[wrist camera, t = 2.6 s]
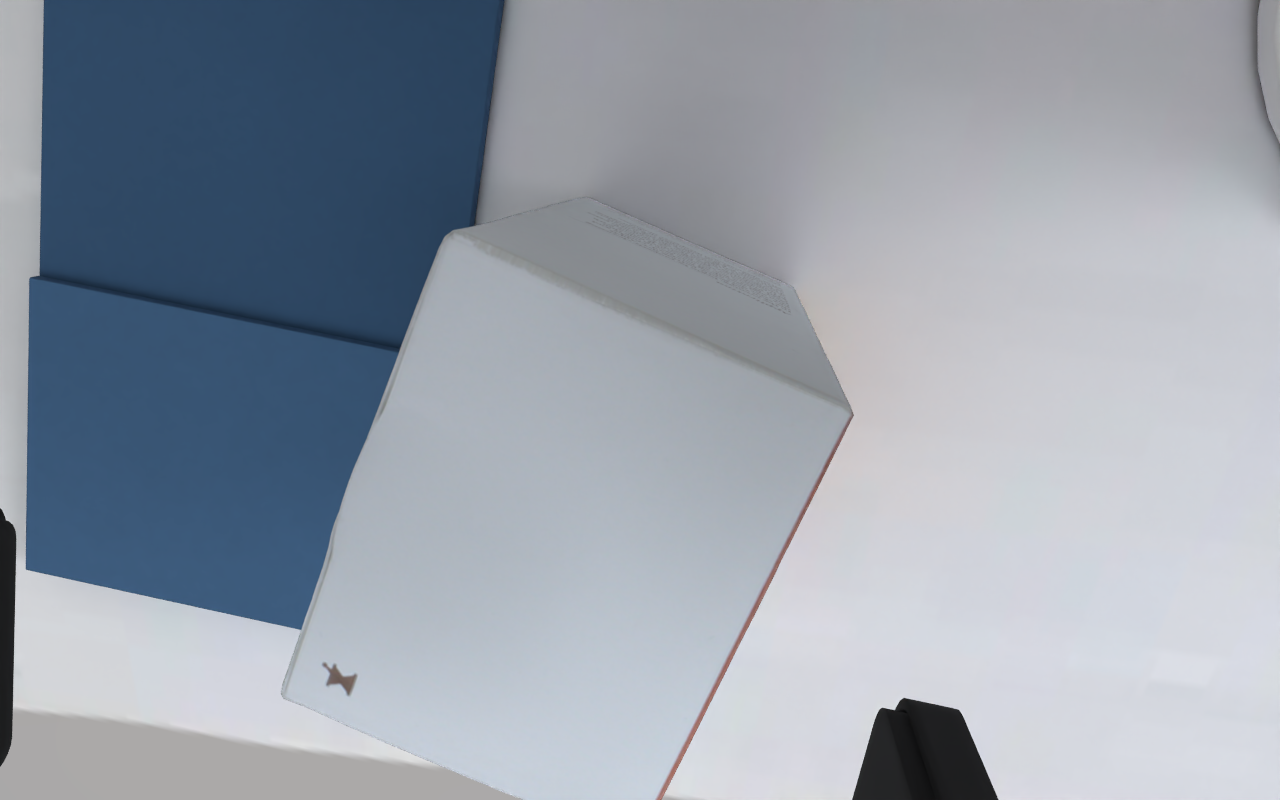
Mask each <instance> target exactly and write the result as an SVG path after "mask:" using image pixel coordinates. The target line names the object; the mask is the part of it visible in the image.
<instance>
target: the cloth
mask: <svg viewBox="0 0 1280 800" xmlns="http://www.w3.org/2000/svg"><path fill="white" fill-rule="evenodd" d="M503 6H504V0H44V32H43V96H42V161H41V225H40V276H36V277H31V278H30V279H29V356H28V434H27V513H26V570H30V571H35V572H39V573H44V574H48V575H53V576H58V577H62V578H67V579H71V580H76V581H80V582H85V583H90V584H94V585H99V586H103V587H108V588H112V589H117V590H122V591H126V592H131V593H135V594H140V595H144V596H149V597H154V598H158V599H163V600H167V601H172V602H176V603H181V604H186V605H190V606H195V607H199V608H204V609H208V610H213V611H218V612H222V613H227V614H231V615H236V616H240V617H245V618H250V619H254V620H259V621H263V622H268V623H272V624H277V625H282V626H286V627H291V628H295V629H300V630H301V629H302V626H303V623H304V620H305V617H306V614H307V612H308V609H309V606H310V603H311V601H312V598H313V594H314V591H315V588H316V585H317V582H318V579H319V576H320V573H321V570H322V568H323V564H324V561H325V557H326V554H327V550H328V547H329V542H330V537H331V533H332V529H333V526H334V523H335V520H336V518H337V515H338V513H339V510H340V507H341V503H342V500H343V497H344V494H345V491H346V488H347V485H348V482H349V480H350V477H351V474H352V472H353V469H354V467H355V464H356V462H357V460H358V457H359V455H360V453H361V450H362V448H363V446H364V443H365V441H366V439H367V436H368V434H369V431H370V428H371V426H372V423H373V421H374V418H375V415H376V413H377V410H378V408H379V405H380V402H381V399H382V397H383V394H384V391H385V389H386V386H387V383H388V381H389V378H390V376H391V373H392V370H393V368H394V365H395V362H396V359H397V357H398V354H399V351H400V348H401V345H402V342H403V340H404V337H405V335H406V332H407V329H408V327H409V324H410V321H411V319H412V316H413V314H414V311H415V308H416V306H417V303H418V300H419V298H420V295H421V292H422V290H423V287H424V285H425V282H426V279H427V277H428V274H429V272H430V269H431V267H432V264H433V262H434V259H435V257H436V254H437V251H438V249H439V246H440V245H441V243H442V241H443V239H444V237H445V236H446V235H447V234H449V233H450V232H451V231H453V230H457V229H462V228H468V227H472V226H474V223H475V215H476V208H477V200H478V193H479V185H480V178H481V170H482V163H483V155H484V148H485V140H486V133H487V125H488V118H489V111H490V103H491V96H492V88H493V81H494V73H495V66H496V58H497V51H498V43H499V36H500V28H501V21H502V13H503Z"/></svg>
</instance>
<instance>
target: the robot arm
mask: <svg viewBox="0 0 1280 800" xmlns="http://www.w3.org/2000/svg"><path fill="white" fill-rule="evenodd" d="M1258 72H1259V77H1260V81H1261V86H1262V91H1263V96H1264V100H1265V105H1266V110H1267V115H1268V119H1269V121H1270V123H1271V125H1272V127H1273V130H1274V132H1275V134H1276V136H1277V139H1278V141H1279V143H1280V0H1260V5H1259V10H1258ZM15 576H16V531H15V529H14V527H13V525H12V524H11V523H10V522H9V521H6V519H5V516H4V514H3V511H2V509H0V766H1V765H2V763H3V762H4V760H5V758H6V756H7V754H8V752H9V749H10V746H11V740H12V716H13V714H12V713H13V670H14V623H15ZM852 800H998V798H997V795H996V793H995V791H994V788H993V786H992V784H991V781H990V779H989V777H988V774H987V772H986V770H985V767H984V765H983V762H982V760H981V758H980V755H979V753H978V751H977V748H976V746H975V744H974V741H973V739H972V737H971V734H970V732H969V730H968V727H967V725H966V722H965V720H964V718H963V715H962V714H961V712H960V711H959V710H957V709H953V708H949V707H944V706H939V705H935V704H930V703H925V702H921V701H916V700H911V699H906V698H903V699H902V700H901V701H900V702H899V704H898V705H897V707H896V710H890V709H886V708H881V709H880V710H879V712H878V714H877V716H876V719H875V722H874V725H873V728H872V732H871V735H870V739H869V743H868V746H867V750H866V753H865V757H864V760H863V764H862V767H861V771H860V774H859V778H858V781H857V785H856V788H855V792H854V796H853V799H852Z"/></svg>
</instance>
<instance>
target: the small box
mask: <svg viewBox="0 0 1280 800" xmlns="http://www.w3.org/2000/svg"><path fill="white" fill-rule="evenodd" d="M853 416H854V415H853V412H852V409H851V407H850V404H849V402H848V400H847V398H846V396H845V394H844V392H843V390H842V388H841V385H840V383H839V381H838V379H837V377H836V375H835V372H834V370H833V368H832V366H831V364H830V362H829V360H828V358H827V356H826V354H825V352H824V350H823V348H822V345H821V343H820V341H819V339H818V337H817V335H816V333H815V331H814V328H813V326H812V324H811V322H810V320H809V318H808V316H807V313H806V311H805V309H804V307H803V305H802V304H801V301H800V299H799V297H798V295H797V293H796V291H795V289H794V288H793V287H792V286H790V285H788V284H786V283H783V282H781V281H779V280H776V279H774V278H772V277H770V276H767V275H765V274H763V273H760V272H758V271H756V270H753V269H751V268H749V267H747V266H744V265H742V264H740V263H737V262H735V261H733V260H730V259H728V258H726V257H723V256H721V255H719V254H717V253H714V252H712V251H710V250H707V249H705V248H703V247H700V246H698V245H696V244H694V243H691V242H689V241H687V240H684V239H682V238H680V237H678V236H675V235H673V234H671V233H669V232H666V231H664V230H662V229H659V228H657V227H655V226H653V225H650V224H648V223H646V222H643V221H641V220H639V219H636V218H634V217H632V216H630V215H627V214H625V213H623V212H621V211H618V210H616V209H614V208H611V207H609V206H607V205H605V204H602V203H600V202H598V201H596V200H593V199H591V198H587V197H582V198H578V199H573V200H569V201H566V202H561V203H558V204H554V205H550V206H547V207H544V208H541V209H537V210H533V211H528V212H524V213H520V214H516V215H513V216H509V217H506V218H502V219H499V220H495V221H492V222H488V223H484V224H479V225H476V226H472V227H468V228H462V229H457V230H453V231H451V232H450V233H449V234H447V235H446V236H445V237H444V239H443V241H442V243H441V245H440V246H439V249H438V251H437V254H436V257H435V259H434V262H433V264H432V267H431V269H430V272H429V274H428V277H427V279H426V282H425V285H424V287H423V290H422V292H421V295H420V298H419V300H418V303H417V306H416V308H415V311H414V314H413V316H412V319H411V321H410V324H409V327H408V329H407V332H406V335H405V337H404V340H403V342H402V345H401V348H400V351H399V354H398V357H397V359H396V362H395V365H394V368H393V370H392V373H391V376H390V378H389V381H388V383H387V386H386V389H385V391H384V394H383V397H382V399H381V402H380V405H379V408H378V410H377V413H376V415H375V418H374V421H373V423H372V426H371V428H370V431H369V434H368V436H367V439H366V441H365V443H364V446H363V448H362V450H361V453H360V455H359V457H358V460H357V462H356V464H355V467H354V469H353V472H352V474H351V477H350V480H349V482H348V485H347V488H346V491H345V494H344V497H343V500H342V503H341V507H340V510H339V513H338V515H337V518H336V520H335V523H334V526H333V529H332V533H331V537H330V542H329V547H328V550H327V554H326V557H325V561H324V564H323V568H322V570H321V573H320V576H319V579H318V582H317V585H316V588H315V591H314V594H313V598H312V601H311V603H310V606H309V609H308V612H307V614H306V617H305V620H304V623H303V626H302V629H301V632H300V636H299V639H298V642H297V644H296V647H295V650H294V653H293V656H292V659H291V662H290V665H289V668H288V671H287V673H286V676H285V679H284V682H283V685H282V691H281V695H282V697H283V698H284V699H286V700H288V701H291V702H294V703H296V704H299V705H302V706H304V707H307V708H309V709H311V710H314V711H316V712H318V713H320V714H322V715H324V716H327V717H329V718H331V719H333V720H335V721H338V722H340V723H342V724H344V725H346V726H349V727H351V728H353V729H355V730H358V731H360V732H362V733H364V734H367V735H369V736H371V737H374V738H376V739H378V740H381V741H383V742H385V743H388V744H390V745H392V746H395V747H397V748H399V749H402V750H404V751H406V752H409V753H411V754H413V755H416V756H418V757H420V758H423V759H425V760H428V761H430V762H432V763H435V764H437V765H439V766H442V767H444V768H446V769H449V770H451V771H454V772H456V773H458V774H461V775H463V776H465V777H468V778H470V779H472V780H475V781H477V782H480V783H482V784H485V785H487V786H490V787H492V788H494V789H497V790H499V791H501V792H504V793H507V794H509V795H512V796H515V797H517V798H519V799H521V800H662V798H663V796H664V794H665V792H666V790H667V788H668V786H669V784H670V782H671V780H672V778H673V776H674V774H675V772H676V770H677V768H678V766H679V764H680V762H681V760H682V758H683V756H684V754H685V752H686V750H687V748H688V746H689V744H690V742H691V740H692V738H693V736H694V734H695V732H696V730H697V728H698V726H699V724H700V722H701V720H702V718H703V716H704V714H705V712H706V710H707V708H708V706H709V704H710V702H711V700H712V698H713V696H714V694H715V692H716V690H717V688H718V686H719V684H720V682H721V680H722V678H723V676H724V674H725V672H726V670H727V668H728V666H729V664H730V662H731V660H732V658H733V656H734V654H735V652H736V650H737V648H738V646H739V644H740V642H741V640H742V638H743V636H744V634H745V632H746V631H747V629H748V627H749V625H750V623H751V621H752V619H753V617H754V615H755V613H756V611H757V609H758V607H759V605H760V603H761V601H762V599H763V597H764V595H765V593H766V591H767V589H768V587H769V585H770V583H771V581H772V579H773V577H774V575H775V573H776V571H777V568H778V566H779V564H780V562H781V560H782V558H783V556H784V554H785V552H786V550H787V548H788V546H789V544H790V542H791V540H792V538H793V536H794V534H795V532H796V530H797V528H798V526H799V524H800V522H801V520H802V518H803V516H804V514H805V512H806V510H807V508H808V506H809V504H810V502H811V500H812V498H813V496H814V494H815V492H816V490H817V488H818V486H819V484H820V482H821V480H822V478H823V476H824V474H825V472H826V470H827V468H828V466H829V464H830V462H831V460H832V458H833V456H834V454H835V452H836V450H837V448H838V446H839V444H840V442H841V440H842V438H843V436H844V434H845V432H846V429H847V427H848V425H849V423H850V421H851V419H852V418H853Z"/></svg>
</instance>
